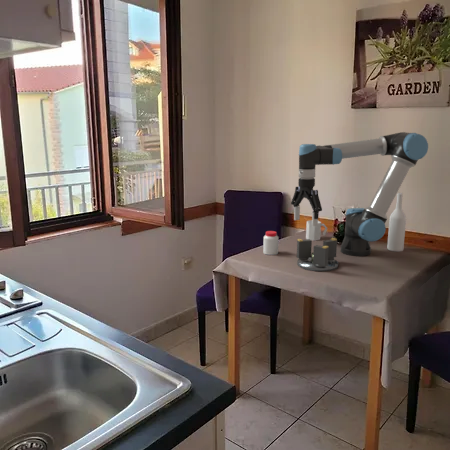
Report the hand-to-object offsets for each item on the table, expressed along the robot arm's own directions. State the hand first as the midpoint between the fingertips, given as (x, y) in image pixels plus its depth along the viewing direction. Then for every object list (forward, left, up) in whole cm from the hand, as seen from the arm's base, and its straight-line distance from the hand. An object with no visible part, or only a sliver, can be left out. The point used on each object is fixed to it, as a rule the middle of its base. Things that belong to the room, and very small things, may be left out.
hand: (305, 222), depth 216 cm
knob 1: (0, 0, -18) cm, 18 cm away
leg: (-6, +11, -18) cm, 22 cm away
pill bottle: (+15, -15, -20) cm, 29 cm away
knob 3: (-12, 0, -18) cm, 22 cm away
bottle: (-51, -22, -20) cm, 59 cm away
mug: (-13, -43, -20) cm, 50 cm away
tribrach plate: (-6, +4, -20) cm, 21 cm away
